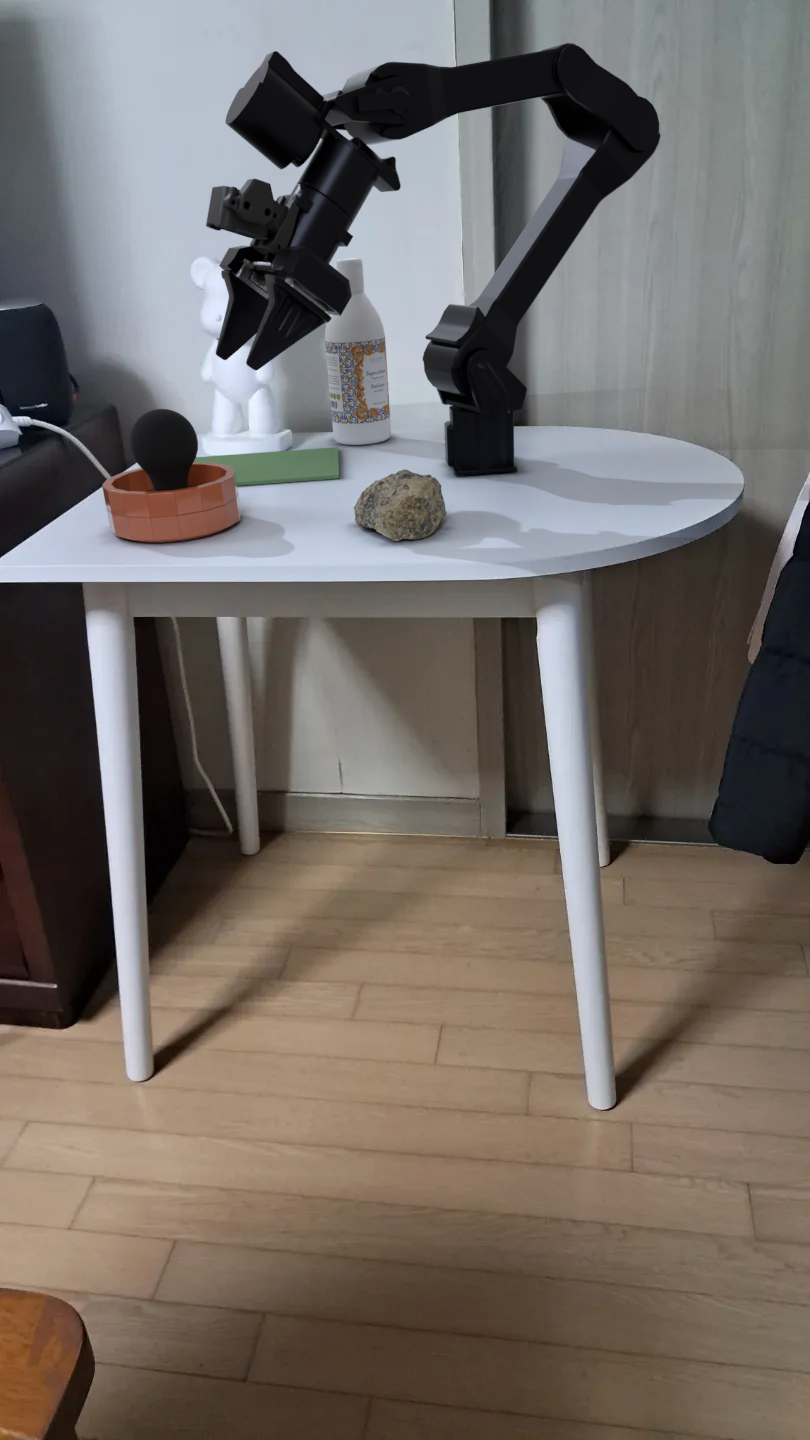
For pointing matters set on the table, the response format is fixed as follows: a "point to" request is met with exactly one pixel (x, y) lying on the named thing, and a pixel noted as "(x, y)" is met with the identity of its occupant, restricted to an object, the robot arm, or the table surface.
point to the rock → (402, 506)
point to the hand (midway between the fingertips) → (234, 362)
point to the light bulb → (164, 448)
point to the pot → (172, 505)
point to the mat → (281, 465)
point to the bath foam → (357, 366)
